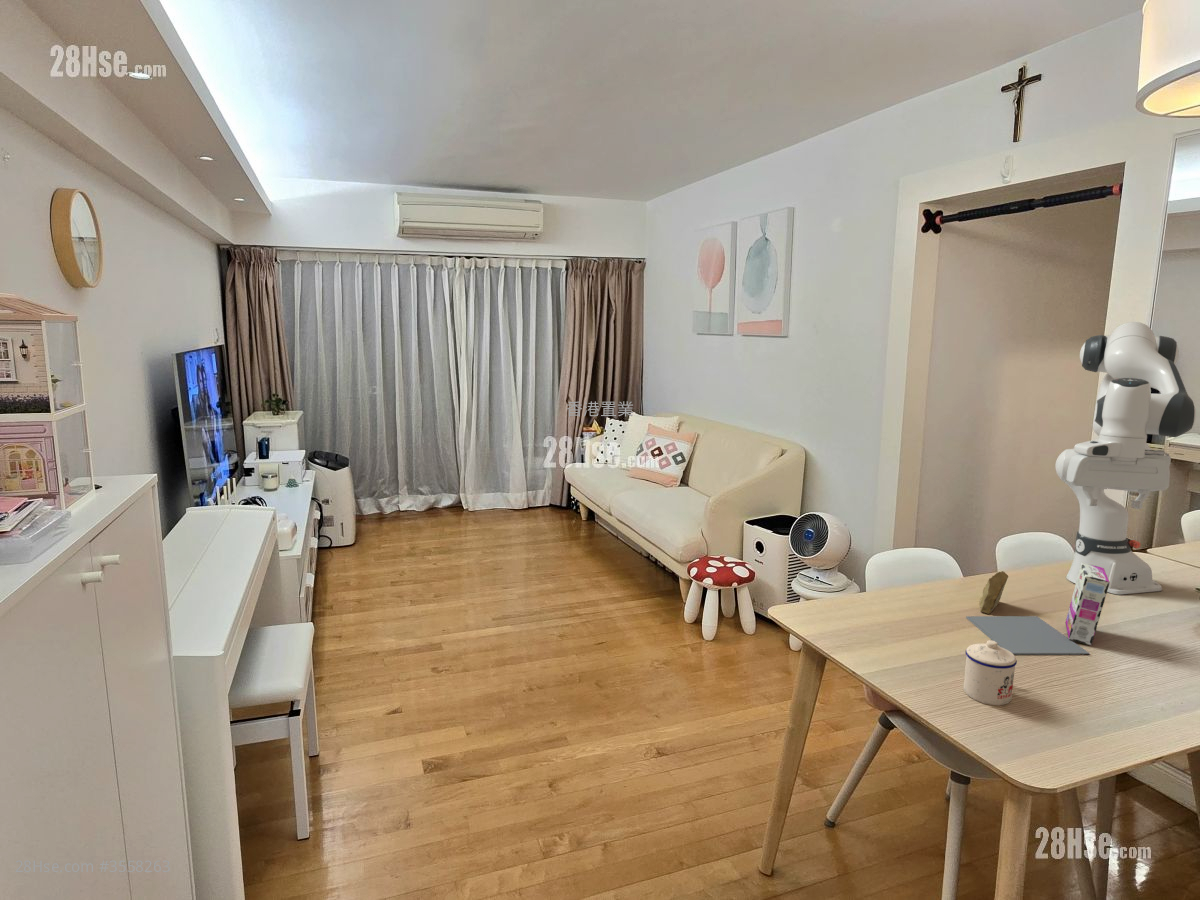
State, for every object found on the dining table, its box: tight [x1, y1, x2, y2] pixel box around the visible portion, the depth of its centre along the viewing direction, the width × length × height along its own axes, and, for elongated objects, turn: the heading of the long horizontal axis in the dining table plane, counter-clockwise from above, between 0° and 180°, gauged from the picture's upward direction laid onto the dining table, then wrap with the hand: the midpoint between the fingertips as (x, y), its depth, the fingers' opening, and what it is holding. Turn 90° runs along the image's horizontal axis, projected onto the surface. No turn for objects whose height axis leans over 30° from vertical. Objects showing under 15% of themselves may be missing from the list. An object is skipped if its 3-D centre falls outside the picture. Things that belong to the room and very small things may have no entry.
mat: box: [965, 615, 1090, 656], centre depth 167 cm, size 18×20×1 cm
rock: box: [978, 571, 1009, 615], centre depth 184 cm, size 11×9×10 cm
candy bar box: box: [1064, 563, 1110, 646], centre depth 165 cm, size 11×5×16 cm, turn 150°
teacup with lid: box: [963, 639, 1018, 706], centre depth 141 cm, size 12×9×12 cm
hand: (1113, 506), depth 162 cm, fingers open, 8 cm apart
